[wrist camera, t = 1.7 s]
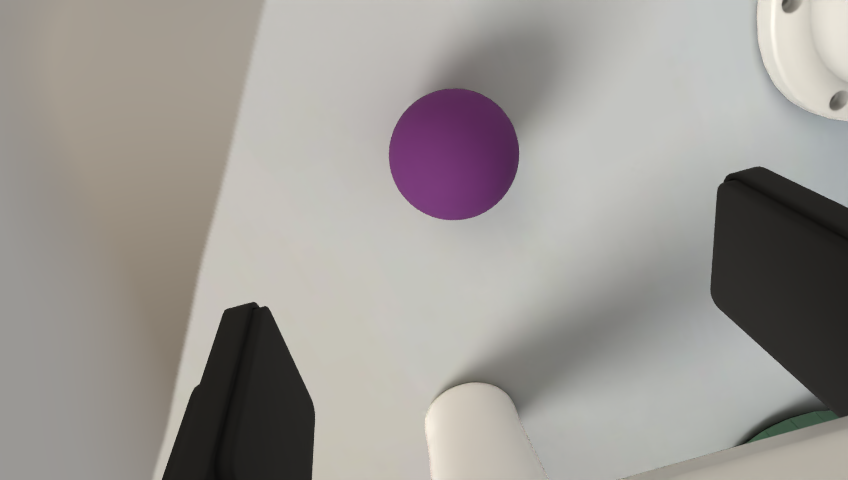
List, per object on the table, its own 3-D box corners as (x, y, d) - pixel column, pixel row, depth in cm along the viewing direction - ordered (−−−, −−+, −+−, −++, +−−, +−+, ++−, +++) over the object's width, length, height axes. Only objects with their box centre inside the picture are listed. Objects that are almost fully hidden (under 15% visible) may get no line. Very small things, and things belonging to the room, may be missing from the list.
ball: (488, 62, 21) (527, 89, 17) (507, 173, 23) (544, 222, 19) (370, 95, 21) (377, 129, 17) (401, 203, 23) (414, 258, 19)
